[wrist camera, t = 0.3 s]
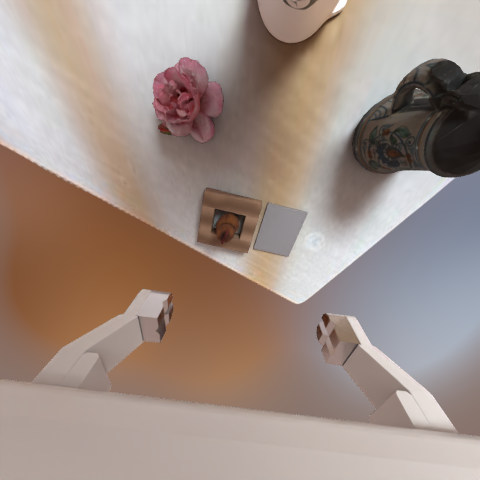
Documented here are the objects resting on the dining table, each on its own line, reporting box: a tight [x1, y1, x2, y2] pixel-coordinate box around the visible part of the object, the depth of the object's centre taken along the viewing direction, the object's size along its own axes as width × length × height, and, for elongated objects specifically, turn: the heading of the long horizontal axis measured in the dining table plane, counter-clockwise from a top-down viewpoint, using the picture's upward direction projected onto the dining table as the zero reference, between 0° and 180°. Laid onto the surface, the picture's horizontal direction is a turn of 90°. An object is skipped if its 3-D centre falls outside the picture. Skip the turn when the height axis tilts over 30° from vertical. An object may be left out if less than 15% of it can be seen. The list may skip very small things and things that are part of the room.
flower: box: [152, 58, 224, 143], centre depth 40 cm, size 15×15×10 cm
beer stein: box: [352, 59, 480, 177], centre depth 34 cm, size 17×19×25 cm
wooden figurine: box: [216, 212, 239, 245], centre depth 52 cm, size 7×6×15 cm
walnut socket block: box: [197, 188, 262, 253], centre depth 56 cm, size 16×16×4 cm
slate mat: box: [254, 203, 307, 256], centre depth 59 cm, size 16×12×1 cm
